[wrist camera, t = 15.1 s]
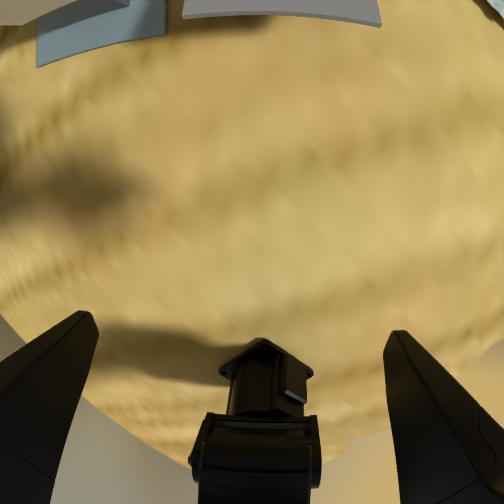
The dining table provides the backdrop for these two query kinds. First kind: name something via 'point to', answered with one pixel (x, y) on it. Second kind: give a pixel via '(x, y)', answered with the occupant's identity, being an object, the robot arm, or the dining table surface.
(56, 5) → the box
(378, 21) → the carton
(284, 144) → the dining table surface
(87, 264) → the dining table surface
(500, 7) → the food on plate
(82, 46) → the rubber mat
